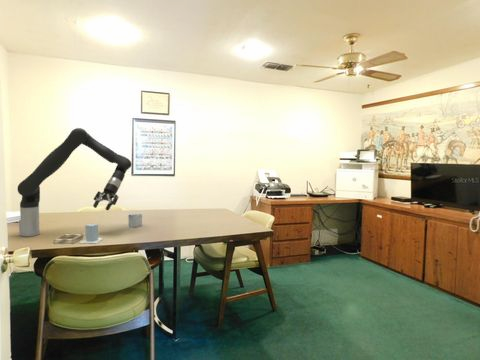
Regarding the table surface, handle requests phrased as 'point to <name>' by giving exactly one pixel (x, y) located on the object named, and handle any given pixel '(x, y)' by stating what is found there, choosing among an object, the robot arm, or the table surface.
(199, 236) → the table surface
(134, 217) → the medicine box
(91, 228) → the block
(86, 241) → the mat
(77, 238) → the well board
